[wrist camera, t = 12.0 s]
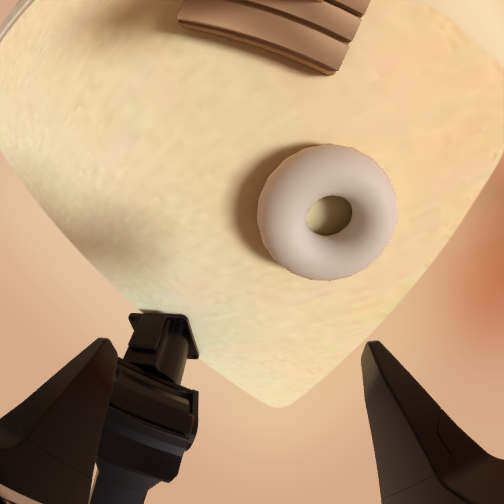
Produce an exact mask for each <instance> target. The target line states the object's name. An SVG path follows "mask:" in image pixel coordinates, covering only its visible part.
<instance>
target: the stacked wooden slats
mask: <svg viewBox="0 0 504 504" xmlns="http://www.w3.org/2000/svg"><path fill="white" fill-rule="evenodd" d="M370 1H371V0H323V2H322V3H321V2H319V1H317V0H184V2H183V4H182V6H181V8H180V10H179V13H178V15H177V17H176V18H177V19H179V21H178V23H179V24H180V25H181V26H183V27H184V28H189V29H194V30H198V31H203V32H207V33H211V34H215V35H219V36H223V37H227V38H231V39H234V40H238V41H241V42H244V43H247V44H251V45H254V46H257V47H260V48H263V49H266V50H268V51H271V52H274V53H277V54H279V55H282V56H285V57H287V58H290V59H292V60H295V61H297V62H299V63H302V64H304V65H306V66H309V67H311V68H313V69H315V70H318V71H320V72H322V73H324V74H326V75H328V76H331V75H334V74H335V72H336V71H338V70H339V68H340V66H341V64H342V62H343V60H344V57H345V55H346V53H347V51H348V49H349V46H348V44H349V43H350V42H351V41H352V40H353V38H354V36H355V34H356V31H357V29H358V27H359V25H360V23H361V21H362V19H360V18H361V17H362V16H363V15H364V14H365V12H366V10H367V7H368V5H369V3H370Z"/></svg>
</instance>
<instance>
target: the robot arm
mask: <svg viewBox="0 0 504 504" xmlns="http://www.w3.org/2000/svg"><path fill="white" fill-rule="evenodd" d="M128 318H129V321H130V323H131V325H132V327H133V329H134V332H133V335H132V337H131V339H130V341H129V344H128V346H129V347H128V349H127V351H126V354H125V356H124V358H123V359H122V358H120V357H118V355H117V351H116V350H115V348H114V346H113V345H112V343H111V341H110V340H109V339H107V338H98V339H96V340H95V341H94V342H93V343H92V344H90V345H89V346H88V347H87V348H86V349H84V350H83V351H82V352H81V353H80V354H79V355H77V356H76V357H75V358H74V359H72V360H71V361H70V362H69V363H68V364H66V365H65V366H64V367H63V368H62V369H61V370H59V371H58V372H57V373H56V374H55V375H54V376H52V377H51V378H50V379H49V380H48V381H47V382H45V383H44V384H43V385H42V386H41V387H40V388H38V389H37V391H35V392H34V393H33V394H32V395H30V396H29V397H28V398H27V399H26V400H24V401H23V402H22V403H21V404H19V405H18V406H17V407H15V408H14V409H13V410H11V411H10V412H9V413H8V414H6V415H5V416H3V417H2V418H1V419H0V504H144V500H145V497H146V494H147V492H148V490H149V489H150V488H152V487H153V486H155V485H156V484H158V483H159V482H161V481H163V482H167V483H169V482H170V481H172V480H173V479H174V478H175V477H176V476H177V474H178V471H179V467H180V463H181V460H182V456H183V453H184V451H187V450H188V449H189V448H190V447H191V445H192V444H193V441H194V439H195V436H196V433H197V428H198V391H196V390H191V389H188V388H186V387H183V386H181V385H180V384H181V380H182V376H183V372H184V367H185V364H186V360H187V359H198V358H199V352H198V349H197V346H196V343H195V340H194V336H193V333H192V330H191V327H190V323H189V320H188V318H187V317H186V316H183V315H160V314H140V313H131V314H130V315H129V317H128ZM182 320H184V321H182ZM361 366H362V374H363V385H364V394H365V395H364V396H365V403H366V409H367V413H368V418H369V423H370V429H371V434H372V440H373V445H374V451H375V458H376V464H377V470H378V477H379V485H380V493H381V502H382V504H504V460H503V459H499V458H496V457H494V456H492V455H490V454H488V453H487V452H486V451H485V450H483V449H482V448H481V447H480V446H479V445H478V444H477V443H476V442H474V440H472V439H471V438H470V437H469V436H468V435H467V434H466V433H465V432H464V431H463V430H461V428H459V427H458V426H457V425H456V424H455V422H453V420H452V419H451V418H450V417H449V416H448V415H447V414H446V413H445V412H444V410H442V409H441V407H440V406H439V405H438V404H437V403H436V402H435V401H434V400H433V398H432V397H431V396H430V395H429V394H428V393H427V392H426V391H425V389H424V388H423V387H422V386H421V385H420V384H419V383H418V382H417V381H416V380H415V379H414V378H413V376H412V375H411V374H410V373H409V372H408V371H407V370H406V369H405V368H404V367H403V366H402V365H401V364H400V362H399V361H398V360H397V359H396V358H395V357H394V356H393V355H392V354H391V353H390V352H389V351H388V350H387V349H386V348H385V347H384V345H383V344H382V343H381V342H380V341H368V342H367V343H366V345H365V348H364V351H363V353H362V357H361ZM95 462H96V465H97V468H98V469H97V472H96V476H95V479H94V483H93V486H92V490H91V483H92V476H93V471H94V466H95ZM90 490H91V493H90Z"/></svg>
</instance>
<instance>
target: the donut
mask: <svg viewBox="0 0 504 504" xmlns="http://www.w3.org/2000/svg"><path fill="white" fill-rule="evenodd" d="M331 195H334V196H341V197H343V198H345V199H346V200H347V201H348V202H349V203H350V205H351V207H352V217H351V220H350V222H349V224H348V225H347V226H346V227H345V228H344V229H343V230H342V231H340V232H338V233H336V234H333V235H328V236H324V235H319V234H316V233H314V232H313V231H312V230H311V229H309V227H308V225H307V220H306V217H307V213H308V211H309V209H310V207H311V206H312V205H313V204H314V203H315V202H316V201H317V200H319V199H321V198H323V197H326V196H331ZM397 218H398V216H397V196H396V193H395V191H394V188H393V185H392V183H391V180H390V178H389V176H388V175H387V174H386V173H385V171H384V170H383V169H382V168H381V167H380V166H379V165H378V163H377V162H376V161H375V160H374V159H373V158H371V157H369V156H368V155H366V154H364V153H362V152H360V151H359V150H357V149H355V148H352V147H346V146H340V145H333V144H325V145H319V146H314V147H308V148H304V149H302V150H301V151H299V152H297V153H295V154H293V155H292V156H290V157H288V158H286V159H284V160H283V161H282V163H281V164H280V165H279V166H278V167H277V168H276V169H275V170H274V171H273V172H272V173H271V175H270V176H269V177H268V178H267V181H266V183H265V185H264V187H263V190H262V192H261V194H260V197H259V199H258V210H257V224H258V227H259V231H260V234H261V238H262V242H263V244H264V246H265V247H266V249H267V250H268V252H269V253H270V254H271V256H272V257H273V259H274V260H275V261H276V262H278V263H279V264H280V265H282V266H283V267H284V268H286V269H287V270H288V271H290V272H291V273H293V274H296V275H299V276H301V277H304V278H307V279H310V280H324V281H332V280H336V279H341V278H346V277H350V276H352V275H354V274H356V273H358V272H360V271H362V270H364V269H366V268H367V267H368V266H370V265H371V264H372V263H373V262H374V261H375V260H376V259H378V258H379V257H380V256H381V255H382V253H383V252H384V250H385V249H386V247H387V246H388V244H389V242H390V241H391V239H392V236H393V233H394V230H395V226H396V223H397Z"/></svg>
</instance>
